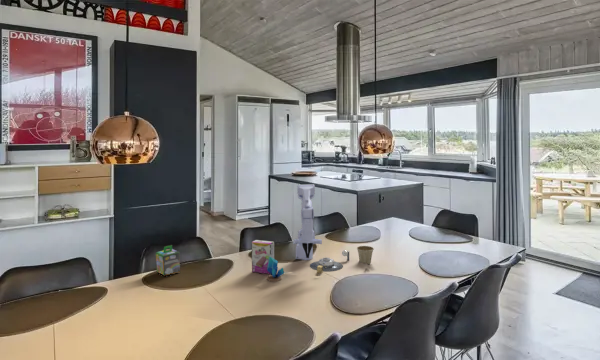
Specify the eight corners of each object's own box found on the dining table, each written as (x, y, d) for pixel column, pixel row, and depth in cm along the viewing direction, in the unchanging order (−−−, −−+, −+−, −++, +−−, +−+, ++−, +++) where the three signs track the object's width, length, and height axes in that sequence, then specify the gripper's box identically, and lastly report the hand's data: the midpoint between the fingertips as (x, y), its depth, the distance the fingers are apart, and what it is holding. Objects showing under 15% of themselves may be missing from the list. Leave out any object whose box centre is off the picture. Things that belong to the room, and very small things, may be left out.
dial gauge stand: (342, 262, 208) (342, 250, 208) (343, 260, 212) (343, 248, 211) (350, 263, 206) (350, 251, 206) (352, 261, 210) (352, 249, 209)
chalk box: (172, 268, 200) (171, 242, 198) (180, 273, 193) (179, 245, 192) (156, 273, 193) (154, 245, 192) (163, 277, 187) (162, 249, 185)
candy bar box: (251, 272, 193) (250, 241, 191) (255, 269, 198) (255, 239, 196) (271, 274, 189) (270, 243, 188) (275, 271, 194) (274, 241, 192)
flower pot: (373, 266, 201) (373, 250, 200) (356, 265, 203) (356, 250, 202) (373, 261, 210) (373, 246, 209) (357, 260, 212) (357, 245, 211)
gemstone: (270, 283, 178) (270, 259, 177) (264, 277, 186) (264, 254, 185) (284, 280, 181) (284, 257, 180) (278, 275, 189) (278, 252, 187)
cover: (317, 267, 197) (317, 259, 196) (321, 262, 204) (321, 255, 204) (331, 268, 194) (331, 261, 194) (335, 264, 201) (335, 257, 201)
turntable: (303, 271, 192) (302, 265, 191) (316, 259, 211) (316, 254, 210) (336, 276, 185) (336, 269, 185) (346, 263, 204) (346, 257, 204)
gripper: (292, 233, 184) (293, 259, 185) (321, 233, 183) (322, 259, 185) (293, 230, 191) (293, 255, 192) (321, 230, 190) (321, 255, 192)
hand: (307, 257), depth 189 cm, fingers closed
